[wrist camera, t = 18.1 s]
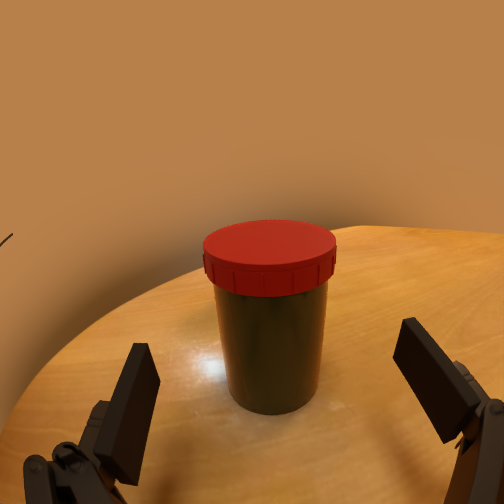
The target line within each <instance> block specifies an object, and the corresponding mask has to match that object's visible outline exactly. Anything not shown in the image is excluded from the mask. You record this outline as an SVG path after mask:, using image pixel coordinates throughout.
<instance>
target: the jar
mask: <svg viewBox="0 0 504 504" xmlns="http://www.w3.org/2000/svg"><path fill="white" fill-rule="evenodd" d="M213 286H214V294H215V302H216V309H217V316H218V324H219V331H220V338H221V345H222V351H223V358H224V364H225V371H226V377H227V383H228V388H229V392H230V394H231V396H232V397H233V399H234V400H235V401H236V402H237V403H238V404H239V405H241V406H242V407H244V408H246V409H247V410H250V411H252V412H256V413H259V414H266V415H278V414H284V413H288V412H291V411H294V410H296V409H298V408H300V407H302V406H303V405H305V404H306V403H307V402H308V401H309V400H310V399H311V398H312V397H313V396H314V394H315V392H316V389H317V386H318V379H319V371H320V363H321V355H322V346H323V336H324V326H325V316H326V304H327V291H328V280H327V281H326V282H325V283H323V284H322V285H320V286H318V287H316V288H314V289H311V290H309V291H306V292H302V293H298V294H293V295H288V296H279V297H255V296H246V295H240V294H236V293H232V292H229V291H226V290H224V289H222V288H220V287H218V286H216V285H215V284H213Z"/></svg>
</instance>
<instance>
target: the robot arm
mask: <svg viewBox="0 0 504 504" xmlns="http://www.w3.org/2000/svg"><path fill="white" fill-rule="evenodd" d="M12 235H13V233H12V234H11V235H9V236H8V237H7V238H6V239H5V240H3V242H2V243H1V244H0V246H1V245H2V244H3V243H4V242H5V241H6V240H7V239H8V238H10V237H11V236H12ZM393 359H394V361H395V363H396V364H397V366H398V367H399V369H400V371H401V372H402V374H403V375H404V377H405V379H406V380H407V382H408V384H409V385H410V387H411V389H412V390H413V392H414V394H415V395H416V397H417V399H418V400H419V402H420V404H421V405H422V407H423V409H424V410H425V412H426V414H427V416H428V417H429V419H430V421H431V423H432V424H433V426H434V428H435V430H436V432H437V433H438V435H439V437H440V439H441V441H442V442H443V444H445V443H447V442H449V441H451V440H453V439H455V438H456V437H457V436H458V435H459V433H460V432H461V431H462V433H463V437H462V438H461V439H460V441H459V442H458V443H457V444H456V446H455V448H454V449H457V447H458V446H459V445H460V448H459V452H458V456H457V460H456V464H455V468H454V472H453V475H452V479H451V482H450V485H449V488H448V492H447V495H446V498H445V500H444V503H443V504H504V403H503V402H502V401H501V400H499V399H490V398H489V396H488V395H487V394H486V392H485V391H484V390H483V388H482V387H481V386H480V385H479V383H478V382H477V381H476V379H474V377H473V376H472V374H470V372H469V371H468V369H467V368H466V367H465V366H464V365H463V364H461V363H459V362H458V361H455V362H452V361H451V360H450V359H449V358H448V356H447V355H446V354H445V353H444V351H443V350H442V349H441V348H440V347H439V345H438V344H437V343H436V342H435V341H434V339H433V338H432V337H431V336H430V335H429V333H428V332H427V331H426V330H425V329H424V328H423V326H422V325H421V324H420V323H419V322H418V321H417V320H416V318H415V317H412V318H407V319H403V321H402V325H401V329H400V333H399V337H398V341H397V344H396V348H395V351H394V355H393ZM160 382H161V381H160V378H159V376H158V373H157V370H156V367H155V364H154V361H153V358H152V355H151V352H150V349H149V346H148V343H133V346H132V348H131V351H130V353H129V355H128V358H127V360H126V363H125V365H124V367H123V370H122V372H121V375H120V377H119V380H118V382H117V385H116V387H115V390H114V393H113V395H112V398H111V401H102V400H100V401H99V402H98V403H97V404H96V405H95V406H94V407H93V409H92V412H91V414H90V416H89V417H90V418H89V419H88V421H87V426H86V427H85V429H84V432H83V434H82V437H81V440H80V442H79V445H78V446H77V445H76V444H74V443H73V442H62V443H60V444H59V445H57V446H56V447H55V448H54V450H53V453H52V459H53V461H46V460H45V459H44V458H43V457H42V456H40V455H31V456H29V457H28V458H27V459H26V460H25V462H24V466H23V474H24V488H25V498H26V504H127V503H126V501H125V500H124V498H123V497H122V495H121V494H120V492H119V490H118V489H117V487H116V486H115V485H114V484H115V479H117V480H118V481H119V482H120V483H122V484H127V485H133V486H138V481H139V476H140V471H141V466H142V461H143V456H144V451H145V446H146V442H147V437H148V432H149V428H150V423H151V419H152V415H153V410H154V406H155V402H156V398H157V394H158V390H159V386H160Z"/></svg>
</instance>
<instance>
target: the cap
mask: <svg viewBox="0 0 504 504" xmlns="http://www.w3.org/2000/svg"><path fill="white" fill-rule="evenodd" d="M336 248H337V246H336V238H335V236H334V235H333V234H332V233H331V232H330V231H329V230H327V229H325V228H323V227H320V226H317V225H314V224H310V223H305V222H299V221H291V220H260V221H251V222H245V223H239V224H234V225H231V226H227V227H224V228H222V229H219V230H217V231H215V232H213V233H212V234H210V235H209V236H207V237H206V239H205V240H204V242H203V250H204V254H203V261H204V269H205V274H206V273H207V276H208V278H209V280H210V281H211V282H212V283H213V284H215V285H216V286H218V287H220V288H222V289H224V290H226V291H229V292H232V293H236V294H240V295H246V296H255V297H279V296H288V295H293V294H298V293H302V292H306V291H309V290H311V289H314V288H316V287H318V286H320V285H322V284H323V283H325V282H326V281H327V280H328V279H329V278H330V277H331V276H332V275H333V274H334V268H335V264H336Z"/></svg>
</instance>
